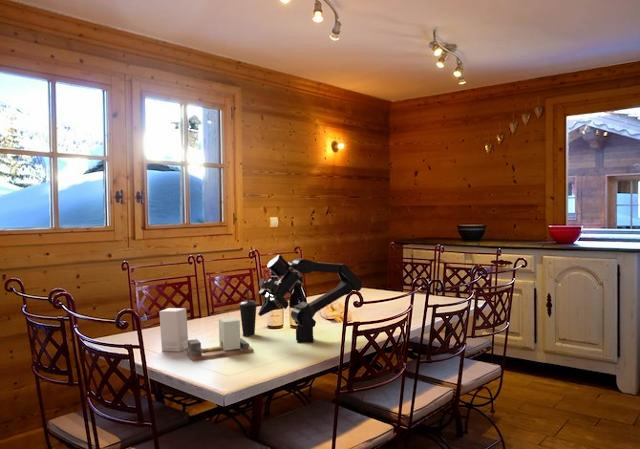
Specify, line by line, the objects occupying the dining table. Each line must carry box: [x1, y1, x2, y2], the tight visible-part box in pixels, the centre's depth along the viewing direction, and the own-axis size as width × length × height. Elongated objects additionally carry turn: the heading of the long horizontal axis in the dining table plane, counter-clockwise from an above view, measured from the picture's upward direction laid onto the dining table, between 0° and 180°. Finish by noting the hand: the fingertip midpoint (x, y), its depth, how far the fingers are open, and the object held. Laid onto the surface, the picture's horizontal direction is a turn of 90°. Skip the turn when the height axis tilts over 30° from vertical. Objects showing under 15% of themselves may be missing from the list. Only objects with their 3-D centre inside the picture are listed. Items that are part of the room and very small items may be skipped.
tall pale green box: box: [218, 316, 241, 351], centre depth 194 cm, size 6×7×10 cm
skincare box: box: [158, 307, 189, 353], centre depth 199 cm, size 8×7×16 cm
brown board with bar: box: [186, 337, 254, 362], centre depth 193 cm, size 22×10×6 cm, turn 116°
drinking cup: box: [238, 287, 258, 337], centre depth 219 cm, size 8×8×20 cm
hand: (259, 315), depth 199 cm, fingers closed
